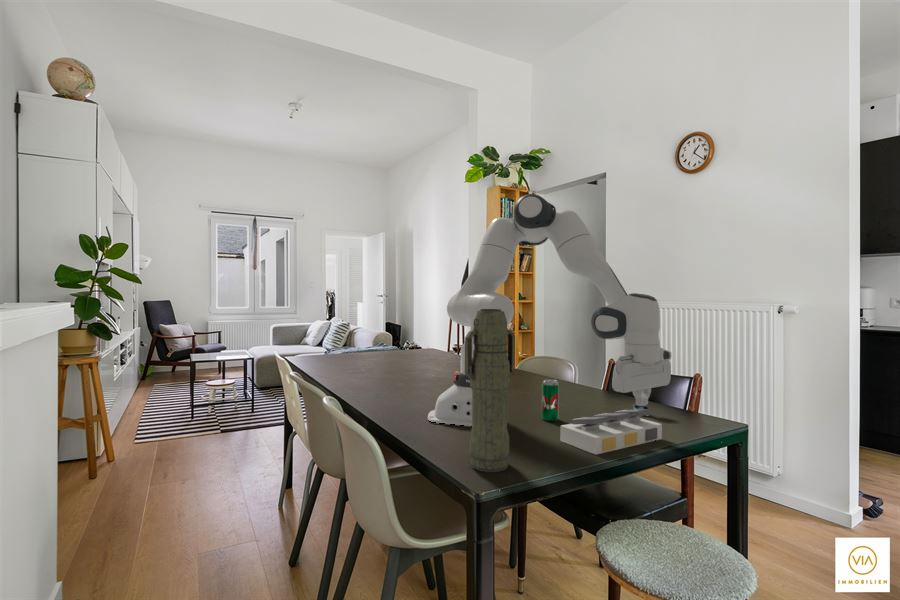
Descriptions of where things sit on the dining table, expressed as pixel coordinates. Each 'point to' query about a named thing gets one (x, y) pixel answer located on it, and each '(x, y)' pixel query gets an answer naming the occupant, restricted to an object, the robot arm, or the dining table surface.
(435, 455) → the dining table surface
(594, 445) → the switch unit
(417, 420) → the dining table surface
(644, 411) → the right rocker
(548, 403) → the soda can
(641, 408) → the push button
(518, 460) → the dining table surface
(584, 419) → the left rocker
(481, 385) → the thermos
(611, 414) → the middle rocker
